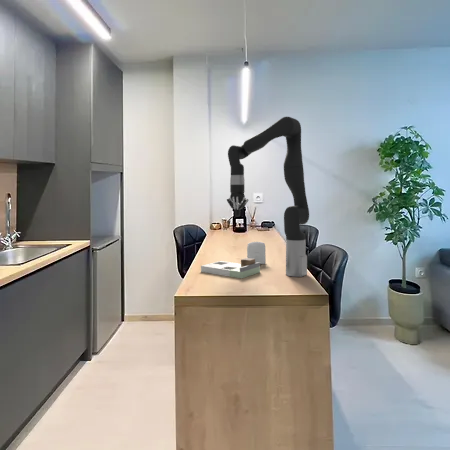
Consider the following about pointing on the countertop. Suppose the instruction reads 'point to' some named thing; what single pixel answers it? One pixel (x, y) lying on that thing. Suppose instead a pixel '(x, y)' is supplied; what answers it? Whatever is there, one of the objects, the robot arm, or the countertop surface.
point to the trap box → (231, 269)
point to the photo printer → (256, 252)
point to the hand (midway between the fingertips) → (237, 216)
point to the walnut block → (247, 261)
